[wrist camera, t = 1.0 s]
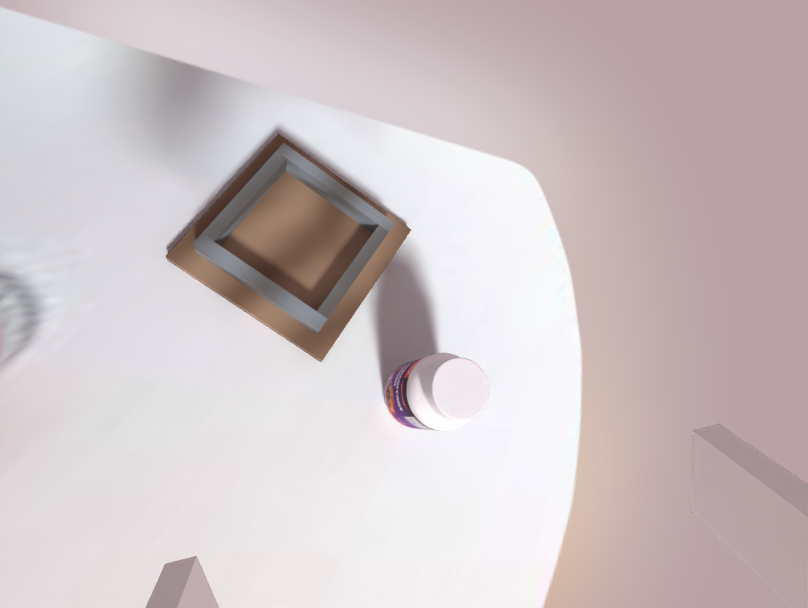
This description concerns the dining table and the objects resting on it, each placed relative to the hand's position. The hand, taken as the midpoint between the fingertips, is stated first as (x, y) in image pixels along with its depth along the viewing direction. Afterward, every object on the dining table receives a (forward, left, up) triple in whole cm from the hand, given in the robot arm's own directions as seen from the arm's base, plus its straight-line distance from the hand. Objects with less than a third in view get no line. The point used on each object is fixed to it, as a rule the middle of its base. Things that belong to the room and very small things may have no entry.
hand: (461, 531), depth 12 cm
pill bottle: (+3, +8, -25) cm, 26 cm away
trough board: (-12, +13, -25) cm, 30 cm away
